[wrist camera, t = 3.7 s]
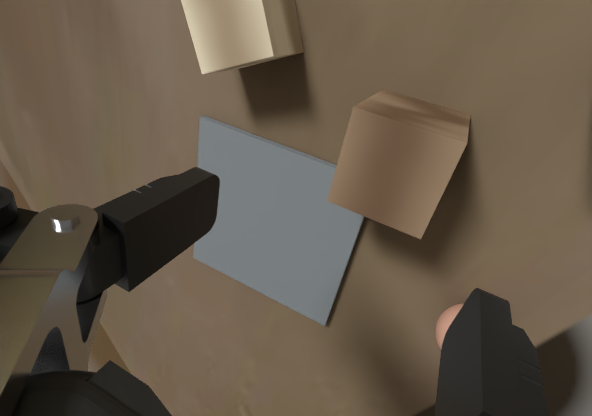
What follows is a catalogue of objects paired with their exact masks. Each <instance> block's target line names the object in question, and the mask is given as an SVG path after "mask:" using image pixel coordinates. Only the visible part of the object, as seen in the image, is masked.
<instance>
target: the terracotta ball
mask: <svg viewBox="0 0 592 416" xmlns="http://www.w3.org/2000/svg"><path fill="white" fill-rule="evenodd" d="M463 305H464V304H457V305H454V306H451V307H449V308H448V309H446V310H445V311H444V312H443V313H442V314H441V316H440V317H439V319H438V321H437V325H436V339H437V342H438V345H439V347H440V349H442V343H443V340H444V337H445V334H446V332H447V330H448V328H449V326H450V325H451V323H452V321H453V320H454V318H455V317H456V315H457V314H458V312H459V311H460V309H461V308H462V306H463Z"/></svg>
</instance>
